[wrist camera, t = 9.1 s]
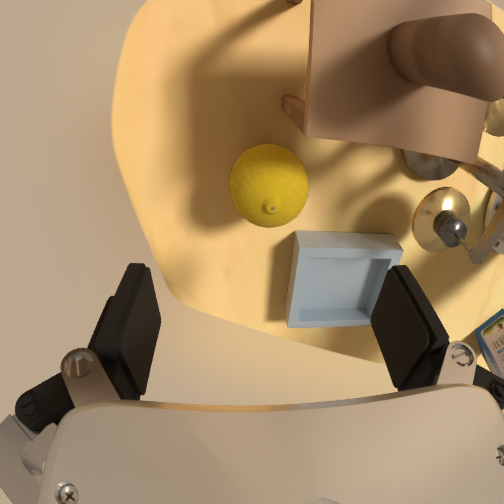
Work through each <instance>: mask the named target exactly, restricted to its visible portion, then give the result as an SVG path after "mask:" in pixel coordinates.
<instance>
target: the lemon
mask: <svg viewBox="0 0 504 504" xmlns="http://www.w3.org/2000/svg"><path fill="white" fill-rule="evenodd" d="M308 187H309V183H308V178H307V173H306V170H305V168H304V166H303V164H302V162H301V161H300V160H299V159H298V158H297V156H296V155H295V154H294V153H292V152H291V151H289V150H288V149H286V148H284V147H281V146H278V145H275V144H262V145H257V146H255V147H252V148H250V149H248V150H247V151H245V152H244V153H243V154H242V155H240V157H239V158H238V159H237V161H236V162H235V163H234V165H233V168H232V171H231V173H230V180H229V189H230V195H231V199H232V201H233V203H234V205H235V207H236V209H237V211H238V212H239V213H240V214H241V215H242V217H244V218H245V219H246V220H248V221H249V222H250V223H252V224H255V225H257V226H261V227H267V228H269V227H278V226H282V225H285V224H287V223H289V222H290V221H292V220H293V219H294V218H295V217H297V216H298V215H299V213H300V212H301V210H302V209H303V207H304V205H305V202H306V200H307V197H308Z"/></svg>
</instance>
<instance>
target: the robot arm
mask: <svg viewBox="0 0 504 504" xmlns="http://www.w3.org/2000/svg"><path fill="white" fill-rule="evenodd" d="M502 201H503V198H501V197H500V196H499V195H498V194H496V193H495V192H494V191H493V192H492V194H491V196H490V199H489V202H488V205H487V210H486V214H485V229H486V228H487V226H488V224H489V223H490V221H491V220H492V218H493V216H494V215H495V213H496V211H497V210H498V208H499V206H500V205H501V203H502ZM493 249H494V250H495V251H496V252H497V253H499V254H502V255H504V232H503V233H502V235H501V236H500V238H499V239H498V241H497V242H496V244H495V245H494V246H493ZM370 322H371V325H372V328H373V331H374V333H375V336H376V338H377V341H378V344H379V346H380V349H381V352H382V355H383V357H384V360H385V363H386V366H387V368H388V371H389V374H390V377H391V380H392V383H393V385H394V387H395V388H397V389H398V392H394V393H389V394H382V395H376V396H369V397H362V398H354V399H346V400H337V401H328V402H317V403H302V404H285V405H252V406H251V405H248V406H247V405H246V406H245V405H243V406H242V405H240V406H236V405H233V406H232V405H199V404H181V403H166V402H153V401H139V400H140V396H141V395H144V394H145V392H146V387H147V382H148V378H149V373H150V368H151V364H152V359H153V355H154V351H155V346H156V342H157V338H158V334H159V330H160V326H161V316H160V312H159V307H158V303H157V299H156V294H155V291H154V285H153V281H152V277H151V271H150V268H149V267H146V266H145V264H143V263H130V264H129V265H128V267H127V269H126V271H125V273H124V276H123V278H122V280H121V282H120V284H119V286H118V289H117V291H116V293H115V295H114V296H111V297H109V299H108V300H107V303H106V305H105V307H104V309H103V312H102V314H101V316H100V318H99V321H98V323H97V325H96V328H95V330H94V333H93V335H92V337H91V340H90V343H89V345H88V348H77V349H74V350H72V351H70V352H69V353H67V355H66V356H65V357H64V358H63V360H62V362H61V367H60V368H61V372H60V373H58V374H56V375H55V376H53V377H51V378H49V379H48V380H46V381H44V382H42V383H41V384H39V385H37V386H36V387H34V388H32V389H30V390H28V391H26V392H25V393H23V394H22V395H21V396H20V397H19V398H18V400H17V402H16V405H15V414H14V415H13V416H12V415H10V414H9V415H8V416H7V417H6V418H5V420H4V421H3V422H2V423H1V424H0V487H1V488H2V490H3V491H4V493H5V494H6V495H7V497H8V498H9V499H10V500H11V502H12V503H13V504H504V379H502V378H500V377H499V376H497V375H495V374H493V373H491V372H490V371H488V370H486V369H484V368H483V367H481V366H479V365H477V364H476V363H477V357H476V354H475V352H474V350H473V349H472V348H471V347H470V346H469V345H468V344H466V343H464V342H461V341H454V342H451V343H450V342H449V340H448V339H449V335H448V334H447V332H446V330H445V328H444V326H443V325H442V323H441V321H440V319H439V317H438V316H437V314H436V312H435V311H434V309H433V307H432V305H431V304H430V302H429V300H428V299H427V297H426V295H425V294H424V292H423V290H422V289H421V287H420V286H419V284H418V282H417V281H416V279H415V278H414V276H413V275H412V273H411V271H410V270H409V268H408V267H407V266H406V265H394V266H392V267H391V269H389V270H388V271H387V274H386V276H385V279H384V282H383V285H382V288H381V290H380V293H379V296H378V299H377V301H376V304H375V306H374V309H373V312H372V314H371V318H370ZM44 461H45V464H44V469H43V471H42V467H43V463H44Z"/></svg>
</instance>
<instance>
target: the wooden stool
mask: <svg viewBox="0 0 504 504" xmlns="http://www.w3.org/2000/svg"><path fill="white" fill-rule="evenodd" d="M302 1H303V0H287V2H292V3H301V2H302ZM503 97H504V35H503V33H502V31H501V30H500V29H499V28H498V27H497V25H496V24H495V23H493V22H492V4H491V3H489V2H487V1H486V0H311V10H310V35H309V55H308V73H307V88H306V103H305V102H304V101H302V100H300V99H299V98H297V97H292V96H283V104H282V108H283V109H284V111H285V112H286V113H287V114H288V115H289V117H290V118H291V119H292V120H293V122H294V123H295V124H296V125H297V127H298V128H299V129H300V130H301V132H302V133H303V134H304V135H305V137H309V138H321V139H332V140H341V141H350V142H358V143H366V144H373V145H380V146H386V147H393V148H399V149H404V150H410V151H416V152H421V153H426V154H431V155H436V156H440V157H445V158H449V159H454V160H458V161H462V162H466V163H470V164H474V165H475V164H476V159H477V155H478V151H479V146H480V141H481V136H482V131H483V126H484V120H485V114H486V107H487V102H494V101H498V100H500V99H501V98H503Z"/></svg>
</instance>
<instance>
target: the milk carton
mask: <svg viewBox="0 0 504 504" xmlns="http://www.w3.org/2000/svg"><path fill="white" fill-rule="evenodd" d="M475 333H476V337H477V340H478V344H479V348H480V351H481V353H482V355H483V357H484V359H485V361H486V363H487V365H488V367H489V369H490V371H491V373H493V374H495V375H497V376H499V377H500V378H502V379H504V309H503V308H502V309H501V310H500V311H499V312H497V313H496V314H495V315H494V316H492V317H491V318H490V319H489V320H487V321H486V322H485V323H483V324H482V325H481V326H479V327H478V328H477V329H475Z"/></svg>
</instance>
